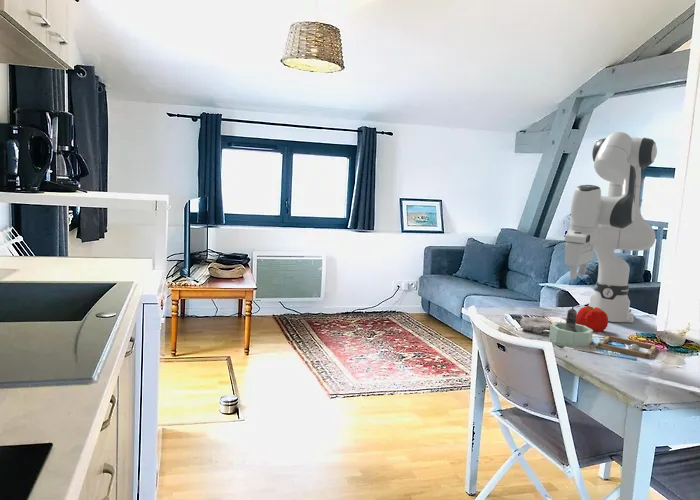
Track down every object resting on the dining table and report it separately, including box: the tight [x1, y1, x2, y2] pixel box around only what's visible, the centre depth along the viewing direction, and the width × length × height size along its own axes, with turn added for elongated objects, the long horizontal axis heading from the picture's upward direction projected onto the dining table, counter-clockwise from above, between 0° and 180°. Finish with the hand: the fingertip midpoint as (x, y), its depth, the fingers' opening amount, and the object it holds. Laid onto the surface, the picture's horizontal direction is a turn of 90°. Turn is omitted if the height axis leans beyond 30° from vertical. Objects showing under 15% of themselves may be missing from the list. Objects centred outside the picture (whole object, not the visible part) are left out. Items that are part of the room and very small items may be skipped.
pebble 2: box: [629, 347, 641, 352], centre depth 177 cm, size 3×3×3 cm
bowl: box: [548, 321, 594, 348], centre depth 188 cm, size 12×12×6 cm
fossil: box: [519, 316, 552, 334], centre depth 201 cm, size 9×6×10 cm
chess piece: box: [563, 306, 578, 332], centre depth 185 cm, size 6×6×12 cm
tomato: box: [576, 305, 609, 332], centre depth 204 cm, size 11×11×9 cm
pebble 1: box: [627, 344, 640, 350], centre depth 181 cm, size 3×3×3 cm
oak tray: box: [597, 334, 657, 360], centre depth 182 cm, size 13×15×2 cm
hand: (577, 276), depth 185 cm, fingers open, 8 cm apart
